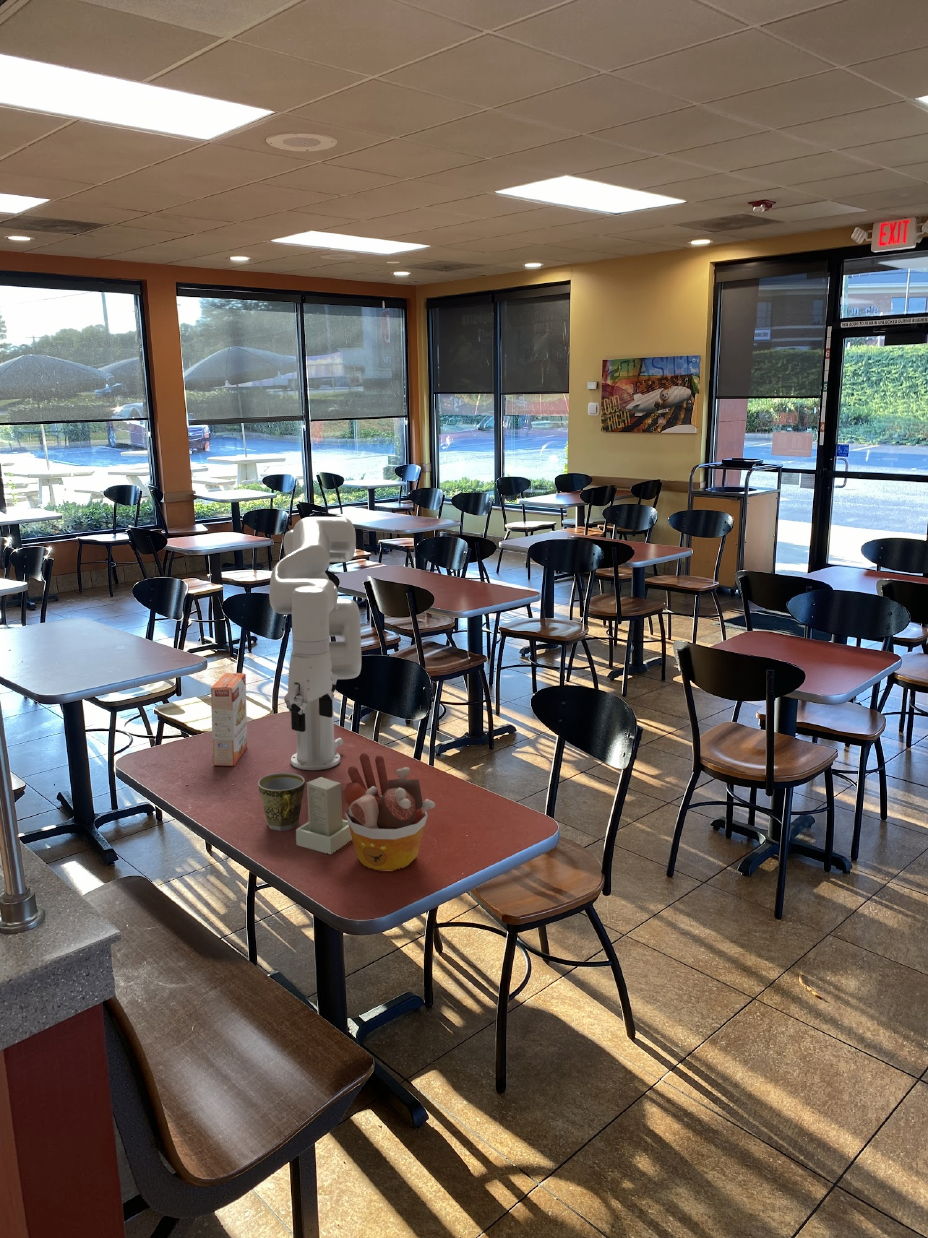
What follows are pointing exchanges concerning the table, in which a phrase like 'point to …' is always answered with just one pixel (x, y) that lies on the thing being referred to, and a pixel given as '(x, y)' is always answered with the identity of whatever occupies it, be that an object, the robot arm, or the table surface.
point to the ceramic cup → (282, 799)
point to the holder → (323, 838)
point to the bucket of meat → (385, 816)
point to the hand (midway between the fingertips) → (312, 723)
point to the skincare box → (324, 806)
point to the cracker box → (229, 719)
